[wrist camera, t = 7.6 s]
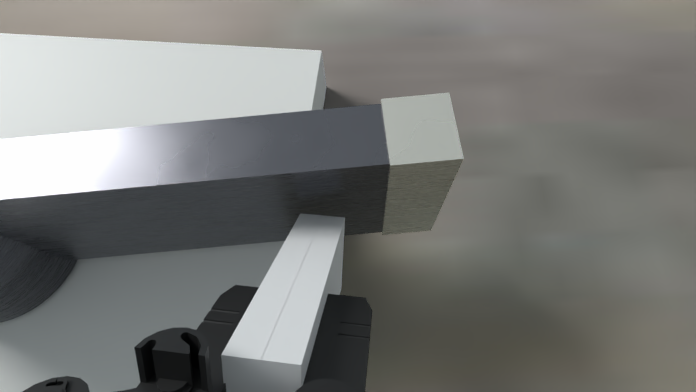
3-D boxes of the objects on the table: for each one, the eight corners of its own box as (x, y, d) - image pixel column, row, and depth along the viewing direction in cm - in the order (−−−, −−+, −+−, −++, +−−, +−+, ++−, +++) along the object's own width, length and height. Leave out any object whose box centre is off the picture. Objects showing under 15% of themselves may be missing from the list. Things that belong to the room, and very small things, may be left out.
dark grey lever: (-88, 330, 17) (-378, 305, 10) (-42, 186, 19) (-249, 92, 13) (437, 283, 16) (483, 227, 10) (414, 144, 19) (439, 28, 12)
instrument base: (-274, 527, 17) (-666, 623, 11) (-15, 65, 26) (-138, -34, 20) (245, 613, 15) (156, 791, 9) (326, 86, 24) (312, -15, 18)
